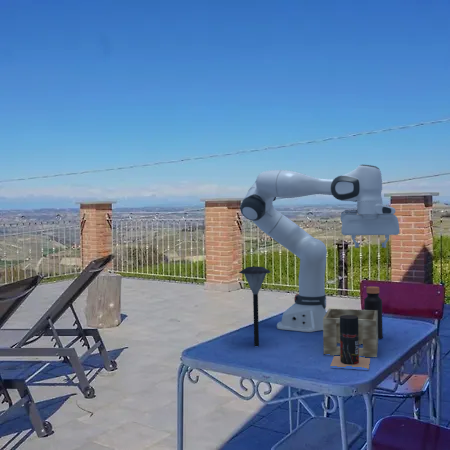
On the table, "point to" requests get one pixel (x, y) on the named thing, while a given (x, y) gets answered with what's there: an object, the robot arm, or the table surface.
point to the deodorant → (349, 339)
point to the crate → (365, 329)
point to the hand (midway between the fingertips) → (370, 247)
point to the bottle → (374, 305)
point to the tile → (362, 363)
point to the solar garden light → (255, 292)
